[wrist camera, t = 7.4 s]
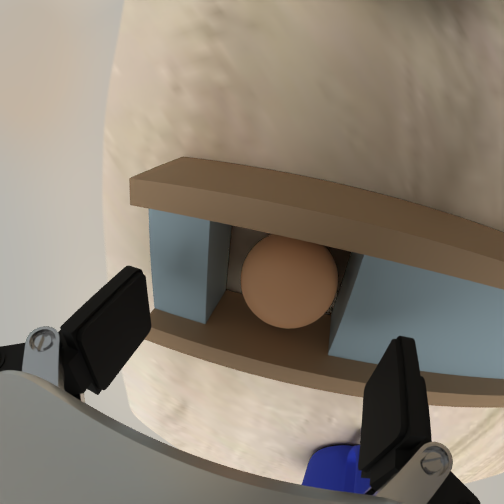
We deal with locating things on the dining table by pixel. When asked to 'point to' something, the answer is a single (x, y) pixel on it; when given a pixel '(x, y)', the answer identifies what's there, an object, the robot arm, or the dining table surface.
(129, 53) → the dining table surface
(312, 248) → the ball
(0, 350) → the robot arm
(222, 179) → the board
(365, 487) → the mug
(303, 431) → the dining table surface
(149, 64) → the dining table surface
